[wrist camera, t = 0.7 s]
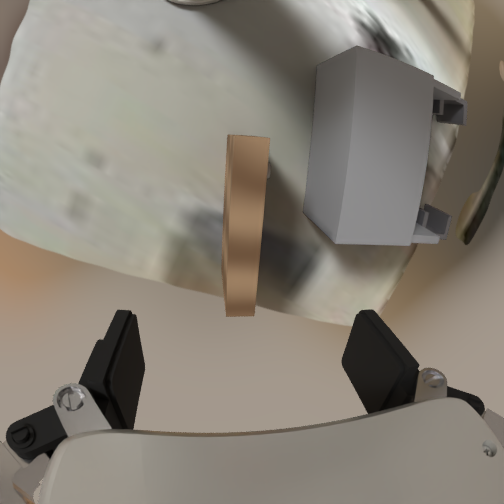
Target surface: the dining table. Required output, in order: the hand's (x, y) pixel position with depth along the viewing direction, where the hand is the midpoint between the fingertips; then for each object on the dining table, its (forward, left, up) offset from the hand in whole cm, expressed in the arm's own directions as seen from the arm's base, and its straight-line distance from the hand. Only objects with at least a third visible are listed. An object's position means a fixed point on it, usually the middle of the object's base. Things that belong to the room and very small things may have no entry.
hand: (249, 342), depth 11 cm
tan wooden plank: (+1, +2, -27) cm, 27 cm away
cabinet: (-8, +22, -27) cm, 35 cm away
